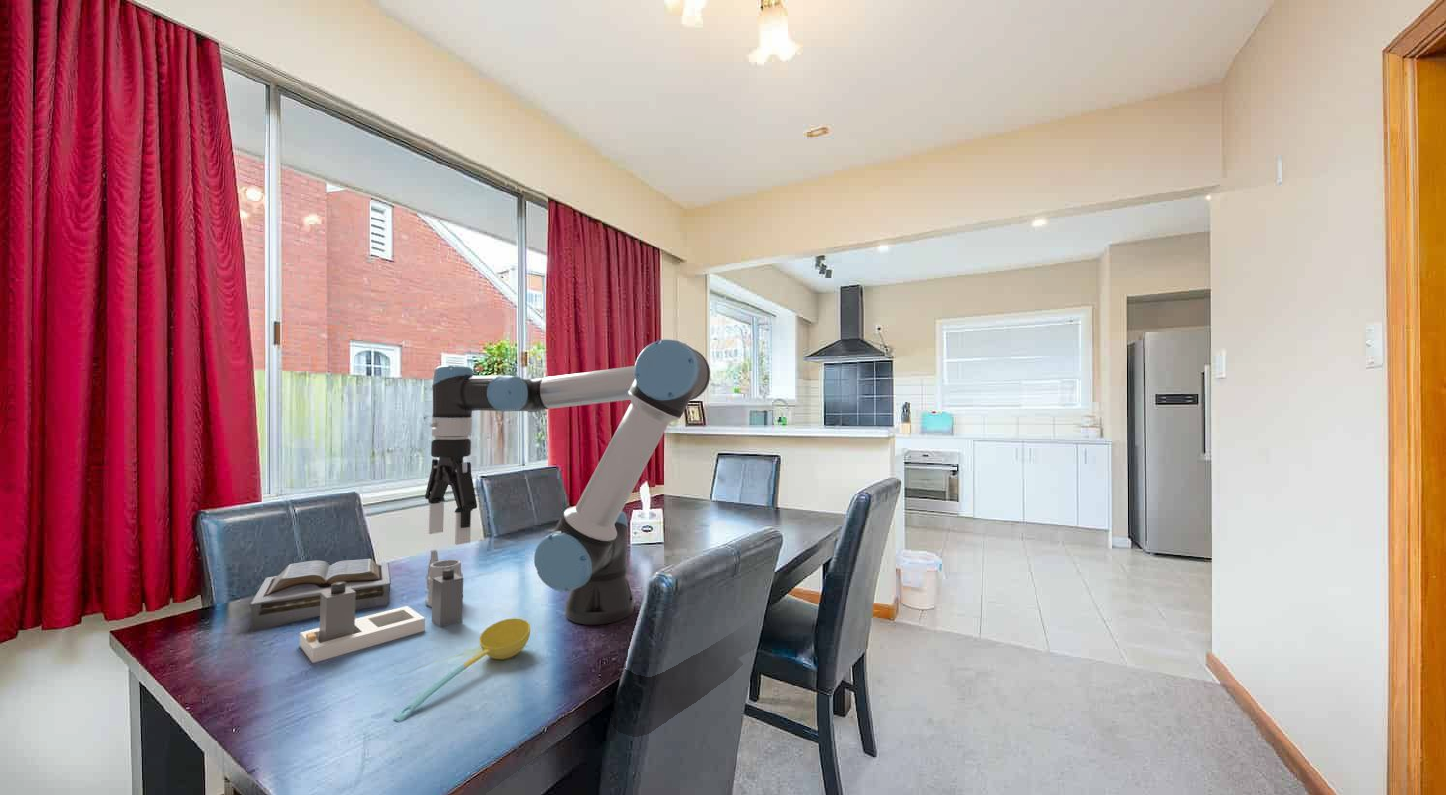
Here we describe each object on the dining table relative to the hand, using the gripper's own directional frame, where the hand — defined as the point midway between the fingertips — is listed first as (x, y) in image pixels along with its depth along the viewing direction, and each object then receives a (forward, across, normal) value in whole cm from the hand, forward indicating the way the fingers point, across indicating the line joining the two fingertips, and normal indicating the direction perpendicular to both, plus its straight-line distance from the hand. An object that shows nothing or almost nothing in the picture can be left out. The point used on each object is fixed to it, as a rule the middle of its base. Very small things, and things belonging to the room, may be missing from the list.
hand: (448, 538), depth 109 cm
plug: (+18, 0, 0) cm, 18 cm away
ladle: (+19, +25, -6) cm, 32 cm away
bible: (+19, -32, -14) cm, 40 cm away
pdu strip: (+18, -3, -14) cm, 23 cm away
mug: (+19, -14, +4) cm, 24 cm away
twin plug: (+17, -3, -18) cm, 26 cm away
